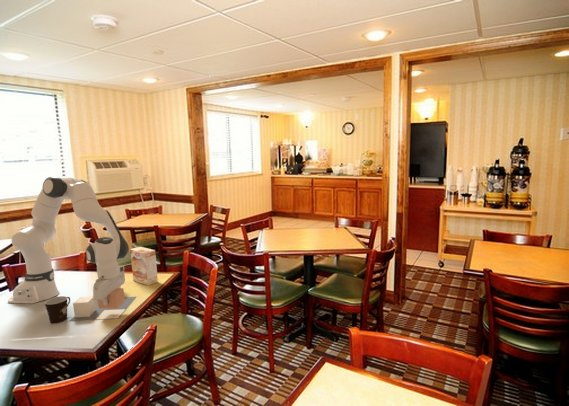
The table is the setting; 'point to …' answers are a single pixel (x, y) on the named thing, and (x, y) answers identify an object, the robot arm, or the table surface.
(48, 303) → the coffee mug
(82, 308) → the pale beige cube
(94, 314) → the mat
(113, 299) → the salmon rectangular box
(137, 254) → the coffeecake box
